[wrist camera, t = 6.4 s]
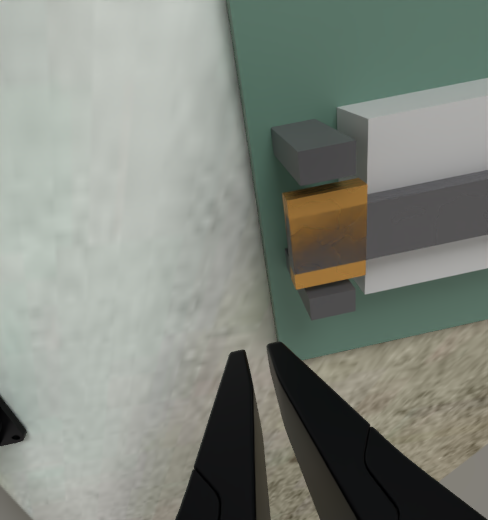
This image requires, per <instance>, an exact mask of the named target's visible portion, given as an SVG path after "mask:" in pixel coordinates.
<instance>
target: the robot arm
mask: <svg viewBox="0 0 488 520" xmlns="http://www.w3.org/2000/svg"><path fill="white" fill-rule="evenodd" d="M267 354H268V360H269V367H270V372H271V376H272V380H273V384H274V388H275V392H276V395H277V399H278V403H279V407H280V411H281V415H282V419H283V422H284V426H285V429H286V432H287V435H288V437H289V440H290V443H291V445H292V448H293V450H294V453H295V456H296V458H297V461H298V463H299V466H300V469H301V471H302V474H303V476H304V479H305V482H306V484H307V487H308V489H309V492H310V495H311V497H312V500H313V502H314V505H315V508H316V510H317V513H318V515H319V518H320V520H487V519H486V518H485V517H483V516H482V515H481V514H479V513H478V512H477V511H476V510H474V509H473V508H471V507H470V506H469V505H468V504H466V503H465V502H464V501H462V500H461V499H460V498H458V497H457V496H456V495H455V494H453V493H452V492H450V491H449V490H448V489H447V488H445V487H444V486H443V485H441V484H440V483H439V482H438V481H436V480H435V479H434V478H432V477H431V476H430V475H428V474H427V473H426V472H425V471H423V470H422V469H421V468H419V467H418V466H417V465H416V464H414V463H413V462H412V461H411V460H409V459H408V458H407V457H406V456H404V455H403V454H402V453H401V452H400V451H399V450H398V449H396V448H395V447H394V446H393V445H392V444H391V443H390V442H389V441H387V440H386V439H385V438H384V437H383V436H382V435H381V434H380V433H379V432H378V431H377V430H376V429H375V428H373V427H370V424H369V423H368V422H367V421H366V420H365V419H364V418H363V417H362V416H360V415H359V414H358V413H357V412H356V411H355V410H354V409H353V408H352V407H351V406H350V405H349V404H348V403H347V402H346V401H344V400H343V399H342V398H341V397H340V396H339V395H338V394H337V393H336V392H335V391H334V390H333V389H332V388H331V387H329V386H328V385H327V384H326V383H325V382H324V381H323V380H322V379H321V378H320V377H319V376H318V375H317V374H316V373H315V372H313V371H312V370H311V369H310V368H309V367H308V366H307V365H306V364H305V363H304V362H303V361H302V360H301V359H300V358H299V357H297V356H296V355H295V354H294V353H293V352H292V351H291V350H290V349H289V348H288V347H287V346H286V345H285V344H284V343H282V342H280V341H279V342H274V343H270V344H268V345H267ZM26 433H27V432H26V430H25V429H24V427H23V426H22V425H21V424H20V422H19V421H18V420H17V418H16V417H15V416H14V415H13V413H12V412H11V411H10V409H9V408H8V407H7V406H6V404H5V403H4V402H3V401H2V399H1V398H0V446H4V445H8V444H13V443H17V442H21V441H23V440H24V438H25V436H26ZM175 520H271V519H270V508H269V497H268V486H267V475H266V465H265V454H264V443H263V435H262V428H261V423H260V418H259V413H258V408H257V403H256V398H255V393H254V387H253V382H252V378H251V373H250V369H249V364H248V360H247V356H246V352H245V350H238V351H234V352H231V353H230V354H229V357H228V360H227V363H226V366H225V370H224V373H223V376H222V379H221V382H220V385H219V389H218V392H217V395H216V398H215V401H214V404H213V408H212V411H211V414H210V417H209V420H208V423H207V426H206V430H205V433H204V436H203V439H202V442H201V445H200V449H199V452H198V455H197V458H196V461H195V464H194V470H192V473H191V476H190V480H189V483H188V486H187V489H186V492H185V495H184V497H183V500H182V503H181V506H180V509H179V512H178V514H177V516H176V519H175Z"/></svg>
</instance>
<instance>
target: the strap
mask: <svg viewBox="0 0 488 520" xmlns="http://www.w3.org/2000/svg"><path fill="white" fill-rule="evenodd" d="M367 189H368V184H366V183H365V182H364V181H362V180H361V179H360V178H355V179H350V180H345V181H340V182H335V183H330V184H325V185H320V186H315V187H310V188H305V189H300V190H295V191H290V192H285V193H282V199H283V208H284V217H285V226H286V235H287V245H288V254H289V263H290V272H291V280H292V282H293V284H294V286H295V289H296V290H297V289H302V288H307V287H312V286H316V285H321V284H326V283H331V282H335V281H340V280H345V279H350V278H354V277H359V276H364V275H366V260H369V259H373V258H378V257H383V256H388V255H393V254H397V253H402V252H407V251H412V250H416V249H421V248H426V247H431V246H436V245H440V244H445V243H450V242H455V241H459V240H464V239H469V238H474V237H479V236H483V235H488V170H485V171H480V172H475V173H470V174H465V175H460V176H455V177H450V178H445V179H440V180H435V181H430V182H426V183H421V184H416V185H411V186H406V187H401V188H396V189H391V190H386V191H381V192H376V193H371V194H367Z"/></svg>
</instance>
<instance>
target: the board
mask: <svg viewBox="0 0 488 520" xmlns="http://www.w3.org/2000/svg"><path fill="white" fill-rule="evenodd" d="M226 3H227V9H228V16H229V23H230V29H231V36H232V43H233V49H234V56H235V63H236V69H237V76H238V83H239V89H240V96H241V103H242V109H243V116H244V123H245V129H246V136H247V143H248V149H249V156H250V163H251V169H252V176H253V183H254V189H255V196H256V203H257V209H258V216H259V223H260V229H261V236H262V243H263V249H264V256H265V263H266V269H267V276H268V283H269V289H270V296H271V303H272V309H273V316H274V323H275V329H276V336H277V342H279V341H280V342H282V343H284V344H285V345H286V346H287V347H288V348H289V349H290V350H291V351H292V352H293V353H294V354H295V355H296V356H297V357H299V358H300V359H301V360H305V359H310V358H315V357H319V356H324V355H328V354H333V353H337V352H342V351H346V350H351V349H355V348H360V347H364V346H369V345H373V344H378V343H382V342H387V341H391V340H396V339H400V338H405V337H410V336H414V335H419V334H423V333H428V332H432V331H437V330H441V329H446V328H450V327H455V326H459V325H464V324H468V323H473V322H477V321H482V320H486V319H488V235H483V236H479V237H474V238H469V239H464V240H459V241H455V242H450V243H445V244H440V245H436V246H431V247H426V248H421V249H416V250H412V251H407V252H402V253H397V254H393V255H388V256H383V257H378V258H373V259H369V260H366V275H364V276H359V277H354V278H350V279H345V280H340V281H335V282H331V283H326V284H321V285H316V286H312V287H307V288H302V289H297V290H296V289H295V286H294V284H293V282H292V280H291V272H290V263H289V254H288V245H287V235H286V226H285V217H284V208H283V199H282V193H285V192H290V191H295V190H300V189H305V188H310V187H315V186H320V185H325V184H330V183H335V182H340V181H345V180H350V179H355V178H360V179H361V180H362V181H364V182H365V183H366V184H368V189H367V194H371V193H376V192H381V191H386V190H391V189H396V188H401V187H406V186H411V185H416V184H421V183H426V182H430V181H435V180H440V179H445V178H450V177H455V176H460V175H465V174H470V173H475V172H480V171H485V170H488V0H226Z"/></svg>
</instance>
